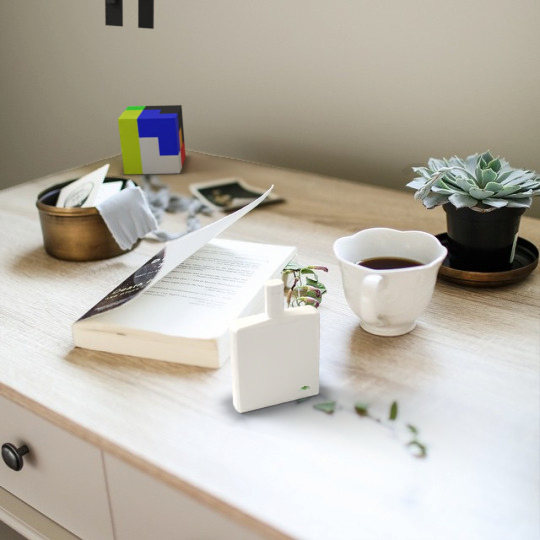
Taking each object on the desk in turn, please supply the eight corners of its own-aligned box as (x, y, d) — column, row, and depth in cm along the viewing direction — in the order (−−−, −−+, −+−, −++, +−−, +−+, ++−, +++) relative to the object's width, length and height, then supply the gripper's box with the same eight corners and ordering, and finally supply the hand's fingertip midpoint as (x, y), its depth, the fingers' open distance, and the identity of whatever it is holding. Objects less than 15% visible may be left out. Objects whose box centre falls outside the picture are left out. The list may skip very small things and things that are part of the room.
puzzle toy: (179, 173, 121) (175, 117, 116) (124, 174, 121) (117, 119, 116) (185, 157, 130) (181, 105, 125) (134, 158, 130) (128, 106, 125)
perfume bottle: (312, 382, 63) (313, 269, 58) (320, 394, 62) (322, 278, 56) (231, 401, 61) (224, 285, 56) (237, 414, 59) (231, 295, 54)
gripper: (120, -131, 96) (121, 26, 103) (178, -96, 120) (176, 30, 126) (72, -132, 98) (76, 23, 105) (138, -97, 121) (138, 28, 128)
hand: (130, 27), depth 116 cm, fingers open, 13 cm apart
